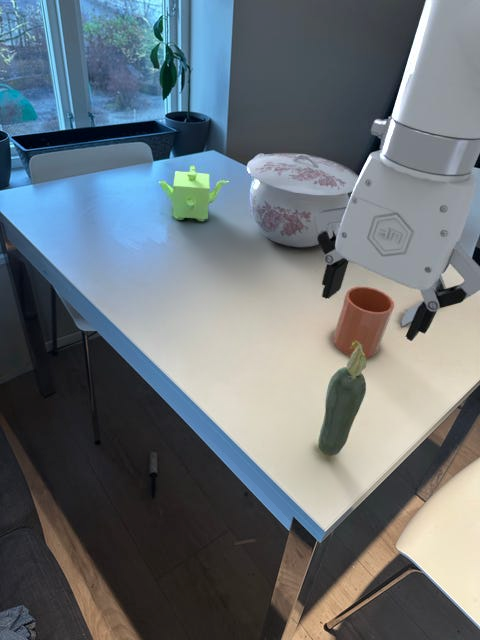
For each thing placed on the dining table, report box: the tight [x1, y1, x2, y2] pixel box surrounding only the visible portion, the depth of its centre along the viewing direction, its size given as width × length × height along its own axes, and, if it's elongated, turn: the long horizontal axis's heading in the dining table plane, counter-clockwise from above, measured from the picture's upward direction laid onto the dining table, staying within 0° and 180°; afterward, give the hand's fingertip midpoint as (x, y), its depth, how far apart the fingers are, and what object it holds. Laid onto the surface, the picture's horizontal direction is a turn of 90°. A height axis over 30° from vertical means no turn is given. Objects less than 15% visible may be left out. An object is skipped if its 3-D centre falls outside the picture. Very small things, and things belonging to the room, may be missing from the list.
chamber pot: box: [246, 152, 359, 248], centre depth 111 cm, size 28×28×21 cm
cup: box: [332, 286, 395, 359], centre depth 80 cm, size 8×8×10 cm
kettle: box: [158, 164, 230, 222], centre depth 117 cm, size 15×14×11 cm
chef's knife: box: [401, 300, 424, 327], centre depth 94 cm, size 19×1×3 cm
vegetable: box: [317, 341, 367, 457], centre depth 56 cm, size 4×4×20 cm
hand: (370, 312), depth 48 cm, fingers open, 9 cm apart
